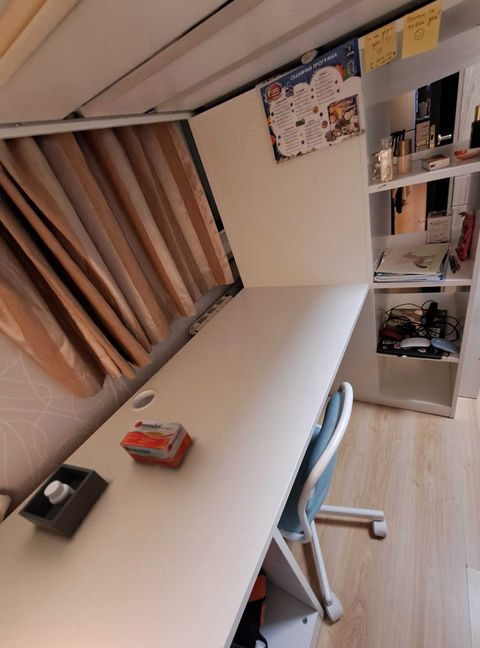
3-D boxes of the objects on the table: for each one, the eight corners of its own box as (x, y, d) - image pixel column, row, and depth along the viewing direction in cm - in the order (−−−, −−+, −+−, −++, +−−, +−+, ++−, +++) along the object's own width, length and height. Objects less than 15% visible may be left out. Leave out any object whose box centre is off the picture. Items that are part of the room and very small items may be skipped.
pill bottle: (64, 516, 70) (43, 501, 65) (62, 504, 73) (41, 489, 69) (82, 502, 72) (62, 486, 67) (79, 490, 75) (59, 474, 71)
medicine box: (193, 440, 79) (181, 421, 74) (179, 468, 72) (164, 450, 68) (150, 436, 84) (136, 418, 80) (133, 462, 78) (117, 444, 74)
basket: (36, 525, 70) (17, 513, 67) (76, 475, 80) (61, 462, 76) (70, 538, 65) (51, 526, 62) (108, 483, 75) (94, 469, 71)
